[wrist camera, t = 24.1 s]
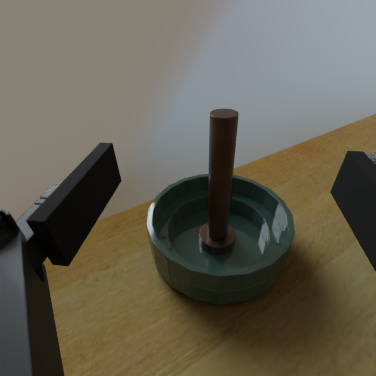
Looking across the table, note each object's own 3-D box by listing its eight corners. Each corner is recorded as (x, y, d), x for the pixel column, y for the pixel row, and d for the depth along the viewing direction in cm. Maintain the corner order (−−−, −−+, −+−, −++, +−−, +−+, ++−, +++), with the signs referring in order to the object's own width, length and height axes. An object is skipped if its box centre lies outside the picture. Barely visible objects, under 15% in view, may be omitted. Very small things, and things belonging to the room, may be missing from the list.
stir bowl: (125, 262, 31) (115, 230, 27) (195, 192, 42) (194, 163, 39) (255, 341, 23) (265, 311, 19) (296, 228, 34) (307, 196, 31)
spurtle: (192, 245, 31) (188, 117, 21) (209, 223, 35) (212, 102, 24) (225, 261, 29) (238, 126, 19) (240, 236, 33) (258, 109, 22)
